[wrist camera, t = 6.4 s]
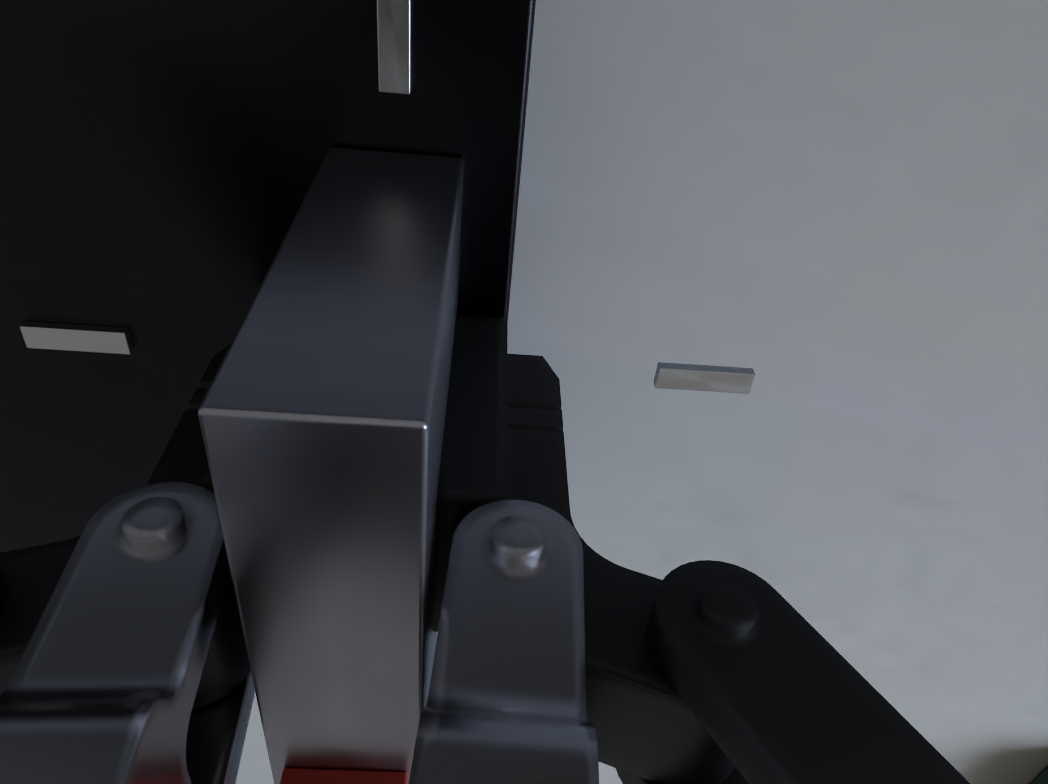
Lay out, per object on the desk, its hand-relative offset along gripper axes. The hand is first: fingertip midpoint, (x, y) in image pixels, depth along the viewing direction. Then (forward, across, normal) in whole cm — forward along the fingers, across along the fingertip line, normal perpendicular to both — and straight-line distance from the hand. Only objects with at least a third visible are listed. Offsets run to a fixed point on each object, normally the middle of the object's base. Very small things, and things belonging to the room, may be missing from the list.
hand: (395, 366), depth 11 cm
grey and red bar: (0, 0, 0) cm, 0 cm away
